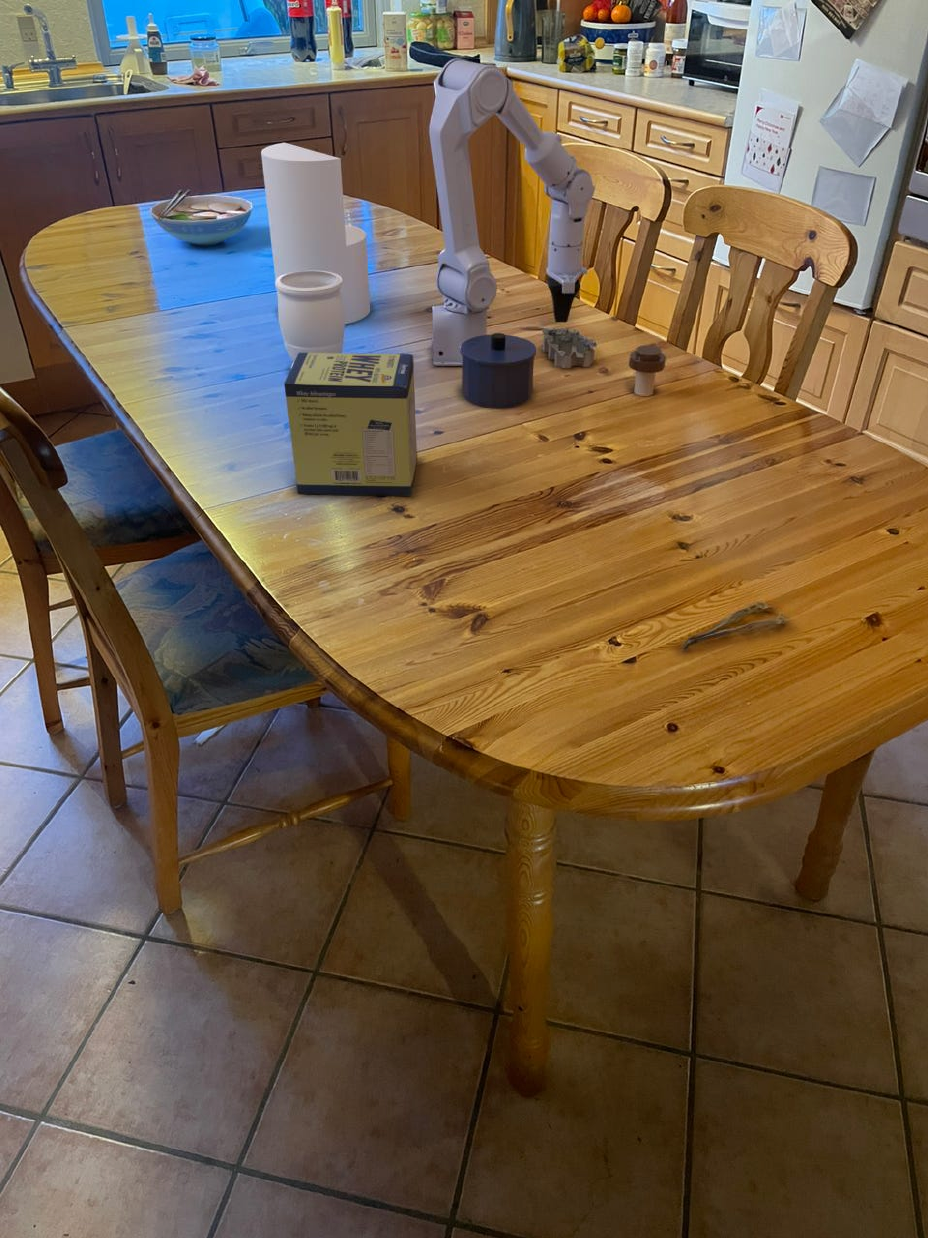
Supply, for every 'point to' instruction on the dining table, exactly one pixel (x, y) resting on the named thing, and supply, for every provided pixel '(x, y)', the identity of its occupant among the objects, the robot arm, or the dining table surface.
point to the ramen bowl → (202, 217)
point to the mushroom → (646, 368)
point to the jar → (311, 312)
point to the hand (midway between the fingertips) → (560, 320)
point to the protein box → (352, 423)
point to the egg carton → (568, 347)
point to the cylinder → (314, 222)
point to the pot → (497, 384)
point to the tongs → (732, 619)
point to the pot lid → (498, 350)
